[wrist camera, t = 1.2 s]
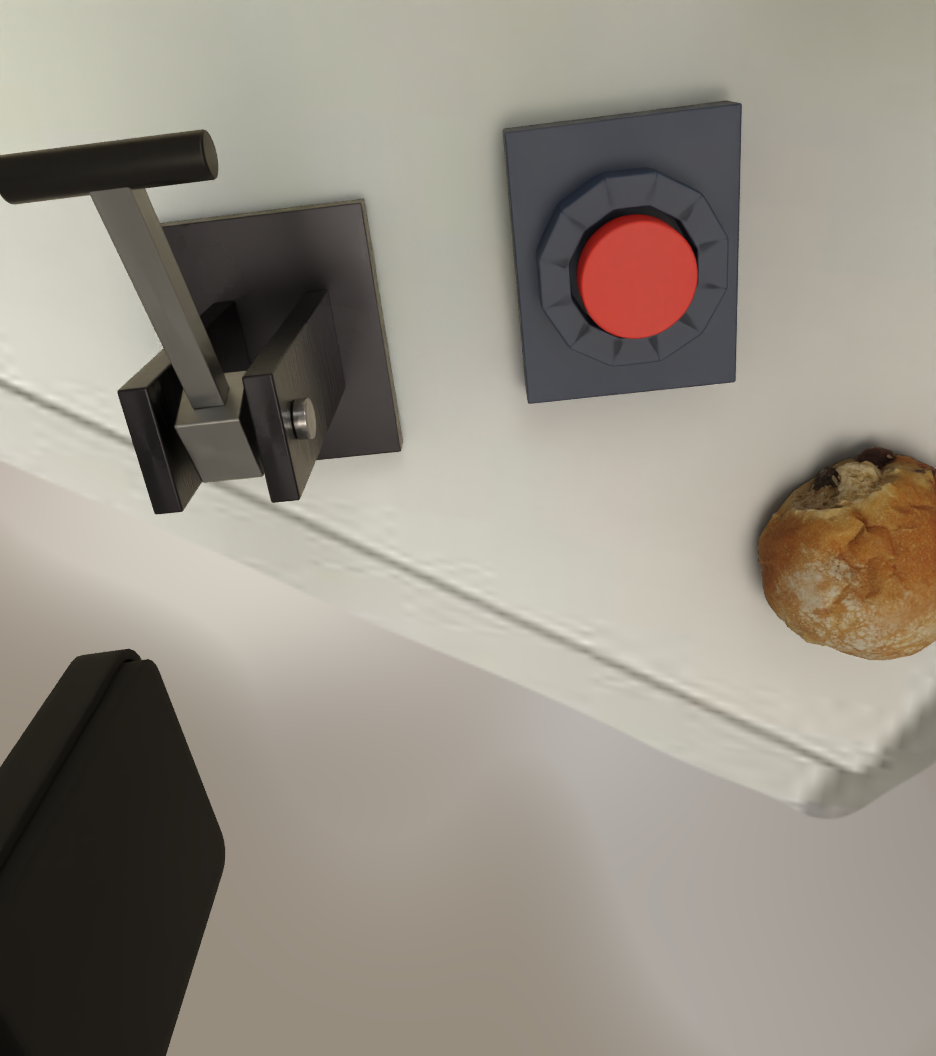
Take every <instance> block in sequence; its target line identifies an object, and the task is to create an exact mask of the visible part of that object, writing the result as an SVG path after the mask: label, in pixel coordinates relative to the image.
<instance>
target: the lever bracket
mask: <svg viewBox="0 0 936 1056" xmlns="http://www.w3.org/2000/svg"><path fill="white" fill-rule="evenodd" d="M160 225H161V227H162V229H163V232H164V234H165V237H166V239H167V241H168V244H169V246H170V248H171V251H172V253H173V255H174V258H175V260H176V262H177V265H178V267H179V269H180V272H181V274H182V276H183V279H184V281H185V284H186V286H187V288H188V291H189V293H190V295H191V298H192V300H193V302H194V305H195V307H196V309H197V312H198V314H199V316H200V319H201V321H202V324H203V326H204V328H205V331H206V333H207V335H208V338H209V340H210V342H211V345H212V347H213V349H214V352H215V354H216V356H217V359H218V361H219V363H220V366H221V368H222V371H223V373H229V372H238V371H246V372H245V374H244V375H243V376H242V382H243V386H244V390H245V394H246V399H247V403H248V407H249V411H250V415H251V419H252V424H253V428H254V432H255V436H256V440H257V444H258V449H259V453H260V457H261V461H262V465H263V470H264V474H265V478H266V482H267V486H268V490H269V495H270V499H271V502H273V503H275V502H284V501H294V500H299V499H300V498H301V496H302V493H303V491H304V488H305V486H306V483H307V481H308V478H309V476H310V473H311V471H312V469H313V466H314V464H315V461H316V460H322V459H332V458H341V457H351V456H361V455H370V454H380V453H390V452H399V451H401V448H402V443H403V439H402V433H401V426H400V420H399V414H398V408H397V401H396V395H395V389H394V382H393V376H392V370H391V364H390V357H389V351H388V345H387V339H386V332H385V326H384V320H383V313H382V307H381V301H380V295H379V288H378V282H377V276H376V269H375V263H374V257H373V251H372V244H371V238H370V232H369V226H368V219H367V213H366V207H365V200H364V199H357V200H349V201H341V202H332V203H324V204H316V205H308V206H299V207H291V208H283V209H275V210H266V211H258V212H250V213H242V214H233V215H225V216H217V217H209V218H200V219H192V220H184V221H176V222H167V223H160ZM182 389H183V387H182V385H181V383H180V381H179V379H178V377H177V375H176V373H175V371H174V368H173V366H172V364H171V362H170V360H169V358H168V356H167V354H166V352H165V350H164V349H163V350H162V351H161V352H159V353H158V354H157V355H156V356H155V357H154V358H153V359H152V360H151V361H150V362H148V363H147V364H146V365H145V366H144V367H143V368H142V369H141V370H140V371H139V372H138V373H136V374H135V375H134V376H133V377H132V378H131V379H130V380H129V381H128V382H127V383H125V384H124V385H123V386H122V387H121V388H120V389H119V390H118V392H117V393H118V396H119V399H120V403H121V406H122V409H123V412H124V416H125V419H126V422H127V425H128V429H129V432H130V435H131V438H132V442H133V446H134V448H135V451H136V455H137V458H138V461H139V464H140V468H141V471H142V474H143V477H144V481H145V484H146V487H147V490H148V494H149V497H150V500H151V503H152V507H153V510H154V513H155V514H165V513H175V512H182V511H183V510H184V509H185V507H186V506H187V504H188V503H189V501H190V500H191V498H192V496H193V495H194V493H195V492H196V490H197V489H198V487H199V486H200V484H201V483H202V481H201V479H200V477H199V475H198V473H197V471H196V469H195V467H194V465H193V463H192V461H191V459H190V457H189V455H188V453H187V451H186V449H185V448H184V446H183V444H182V442H181V440H180V438H179V436H178V434H177V432H176V430H175V428H174V423H175V419H176V415H177V410H178V406H179V402H180V398H181V393H182Z"/></svg>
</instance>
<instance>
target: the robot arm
mask: <svg viewBox="0 0 936 1056" xmlns="http://www.w3.org/2000/svg"><path fill="white" fill-rule="evenodd" d="M224 863H225V846H224V839H223V836H222V832H221V830H220V827H219V825H218V822H217V819H216V817H215V814H214V812H213V809H212V807H211V804H210V801H209V799H208V796H207V794H206V791H205V788H204V786H203V783H202V781H201V778H200V775H199V773H198V770H197V768H196V765H195V763H194V760H193V757H192V755H191V752H190V750H189V747H188V745H187V742H186V739H185V737H184V734H183V732H182V729H181V726H180V724H179V721H178V719H177V716H176V714H175V711H174V708H173V706H172V703H171V701H170V698H169V695H168V693H167V690H166V688H165V685H164V683H163V680H162V677H161V675H160V672H159V670H158V668H157V666H156V664H155V663H154V662H153V661H151V660H149V659H147V660H141V658H140V656H139V655H138V654H137V653H136V652H135V651H133V650H131V649H125V650H116V651H109V652H102V653H95V654H87V655H82V656H78V657H76V658H75V659H74V660H73V661H72V662H71V664H70V665H69V667H68V668H67V670H66V671H65V672H64V674H63V676H62V677H61V678H60V680H59V681H58V683H57V684H56V686H55V688H54V689H53V690H52V692H51V693H50V695H49V696H48V698H47V699H46V700H45V702H44V703H43V705H42V706H41V708H40V709H39V711H38V712H37V714H36V715H35V717H34V718H33V720H32V721H31V723H30V724H29V725H28V727H27V728H26V730H25V732H24V733H23V734H22V736H21V737H20V739H19V740H18V742H17V743H16V745H15V746H14V748H13V749H12V750H11V752H10V754H9V755H8V756H7V758H6V759H5V761H4V762H3V764H2V766H1V767H0V1056H166V1053H167V1050H168V1047H169V1044H170V1040H171V1037H172V1034H173V1031H174V1027H175V1024H176V1021H177V1018H178V1014H179V1011H180V1008H181V1005H182V1002H183V998H184V995H185V992H186V989H187V986H188V982H189V979H190V976H191V972H192V969H193V966H194V963H195V960H196V956H197V953H198V950H199V947H200V944H201V940H202V937H203V934H204V930H205V928H206V924H207V921H208V918H209V915H210V911H211V908H212V905H213V902H214V899H215V895H216V892H217V889H218V886H219V882H220V879H221V876H222V873H223V868H224Z"/></svg>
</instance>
